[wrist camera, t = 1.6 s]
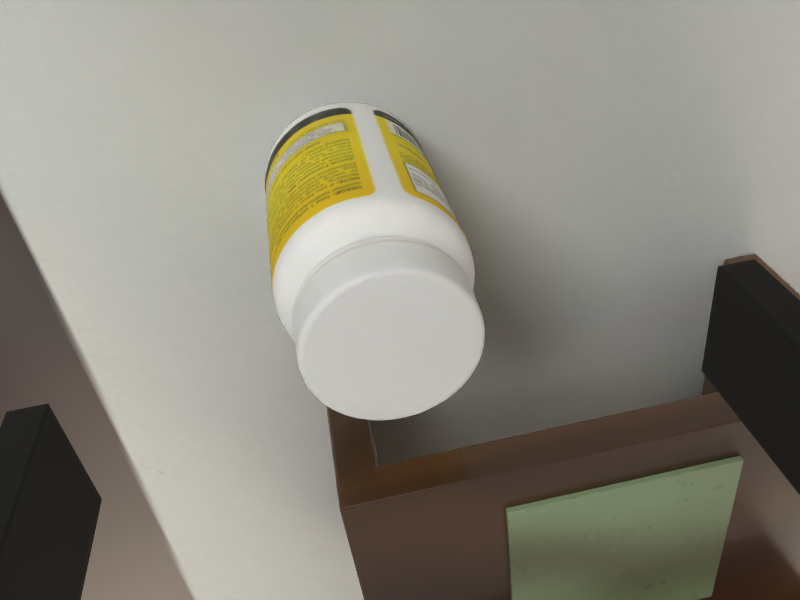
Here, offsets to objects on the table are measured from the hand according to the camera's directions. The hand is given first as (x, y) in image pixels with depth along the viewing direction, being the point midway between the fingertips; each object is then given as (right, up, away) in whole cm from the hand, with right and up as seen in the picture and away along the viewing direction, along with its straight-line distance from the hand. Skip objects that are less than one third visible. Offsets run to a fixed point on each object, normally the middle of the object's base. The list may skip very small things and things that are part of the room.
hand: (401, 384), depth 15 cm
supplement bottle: (-2, +6, +7) cm, 9 cm away
